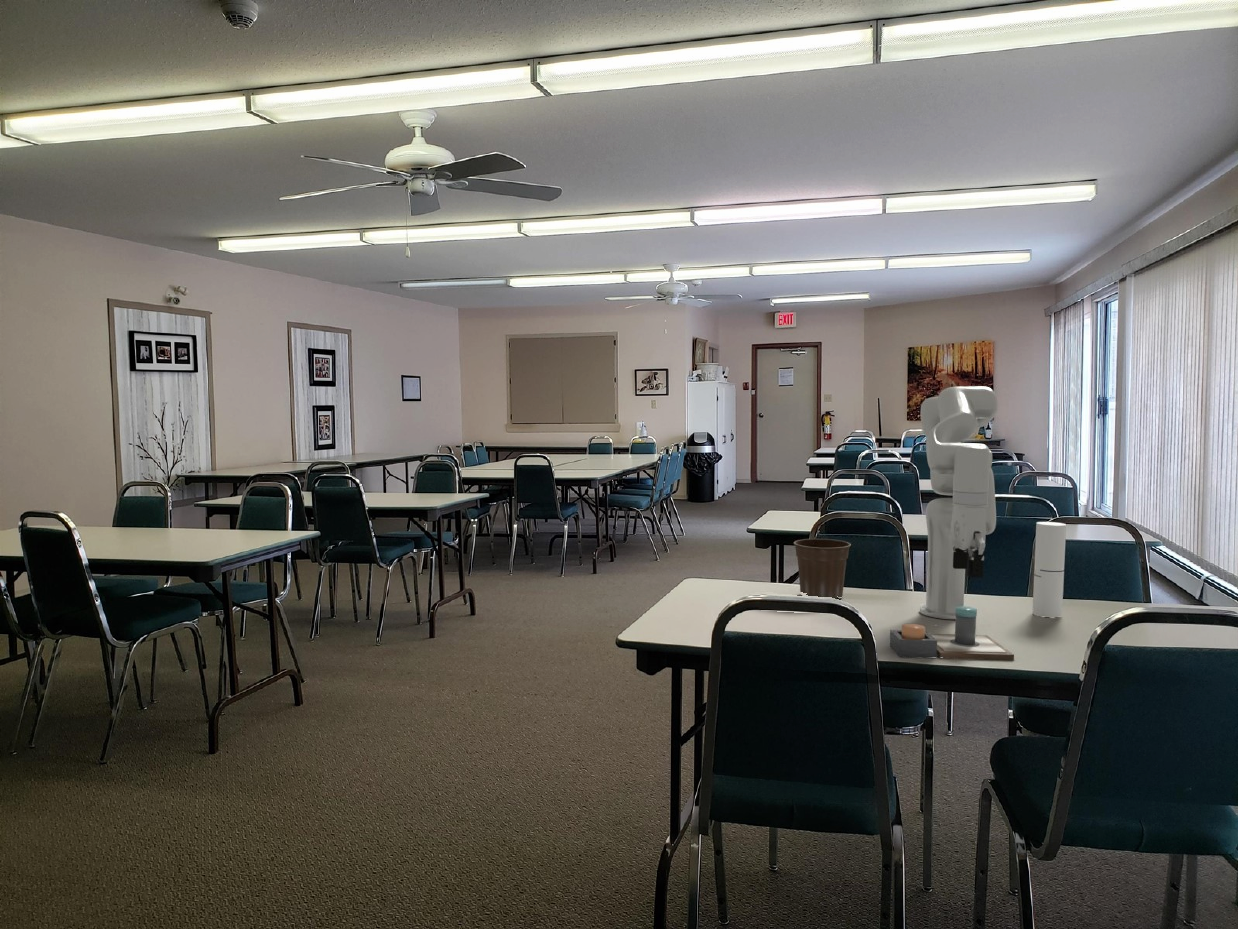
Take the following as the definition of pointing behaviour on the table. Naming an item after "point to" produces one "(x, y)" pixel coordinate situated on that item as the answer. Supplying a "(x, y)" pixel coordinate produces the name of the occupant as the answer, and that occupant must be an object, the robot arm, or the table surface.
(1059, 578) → the cylindrical container
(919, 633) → the button
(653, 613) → the table surface
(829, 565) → the plant pot
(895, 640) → the button housing
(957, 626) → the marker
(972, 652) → the board
